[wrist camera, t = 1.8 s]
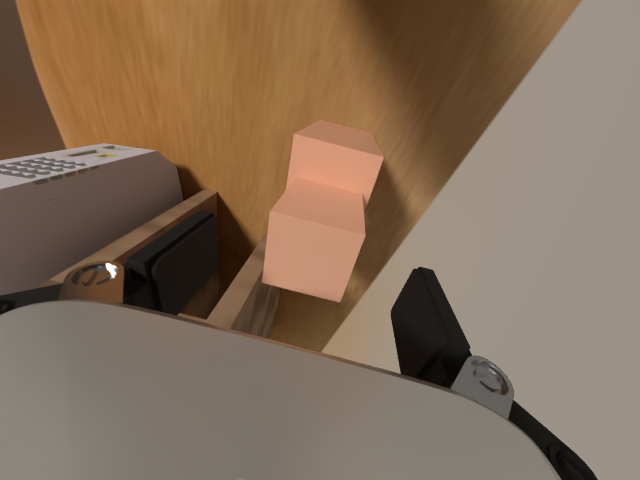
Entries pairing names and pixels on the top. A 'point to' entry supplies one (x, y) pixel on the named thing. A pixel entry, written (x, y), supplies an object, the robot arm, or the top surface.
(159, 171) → the game console
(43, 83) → the top surface
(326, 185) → the salmon stepped block
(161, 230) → the wooden rack
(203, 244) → the robot arm
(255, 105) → the top surface
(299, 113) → the top surface
